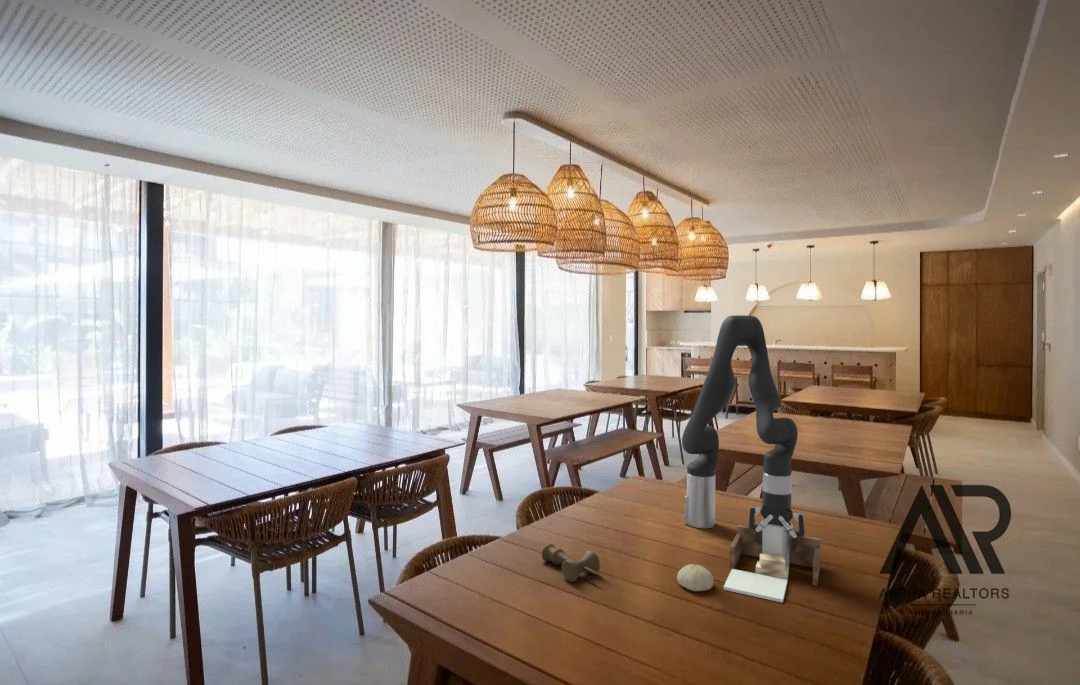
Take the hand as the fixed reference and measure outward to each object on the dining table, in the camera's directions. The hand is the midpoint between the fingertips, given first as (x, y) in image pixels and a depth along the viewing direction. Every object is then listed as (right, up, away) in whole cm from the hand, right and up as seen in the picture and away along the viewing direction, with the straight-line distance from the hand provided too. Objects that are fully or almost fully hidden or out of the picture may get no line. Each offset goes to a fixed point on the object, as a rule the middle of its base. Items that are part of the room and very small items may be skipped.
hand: (776, 547), depth 159 cm
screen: (-1, -6, -1) cm, 6 cm away
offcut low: (-3, -6, -5) cm, 8 cm away
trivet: (-10, -6, -12) cm, 17 cm away
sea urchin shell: (-26, -6, -11) cm, 29 cm away
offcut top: (-3, -4, -5) cm, 7 cm away
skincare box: (0, -6, 0) cm, 6 cm away
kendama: (-57, -6, -4) cm, 58 cm away
